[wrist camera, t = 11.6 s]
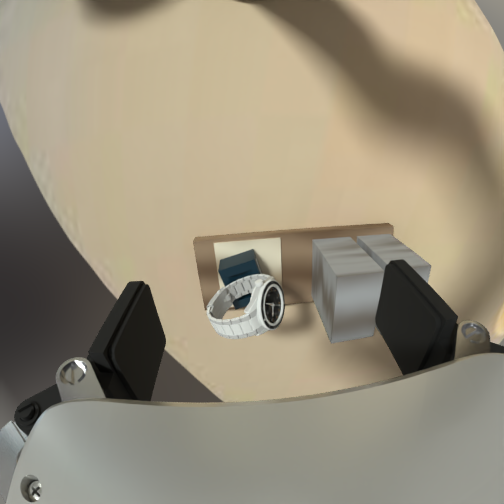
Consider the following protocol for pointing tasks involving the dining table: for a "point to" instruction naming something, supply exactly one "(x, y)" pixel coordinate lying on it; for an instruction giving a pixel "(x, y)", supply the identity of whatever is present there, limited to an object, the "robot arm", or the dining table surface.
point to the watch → (246, 298)
